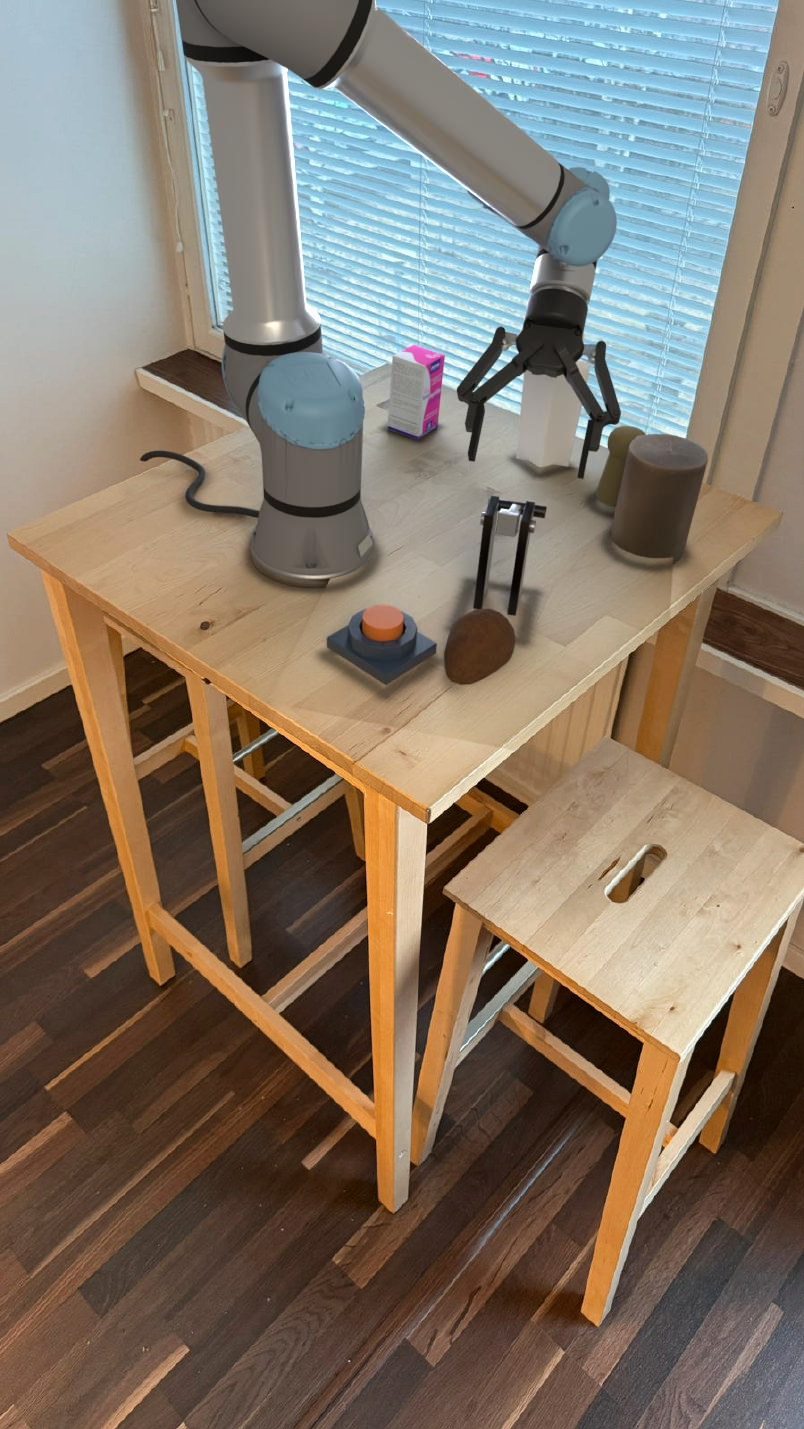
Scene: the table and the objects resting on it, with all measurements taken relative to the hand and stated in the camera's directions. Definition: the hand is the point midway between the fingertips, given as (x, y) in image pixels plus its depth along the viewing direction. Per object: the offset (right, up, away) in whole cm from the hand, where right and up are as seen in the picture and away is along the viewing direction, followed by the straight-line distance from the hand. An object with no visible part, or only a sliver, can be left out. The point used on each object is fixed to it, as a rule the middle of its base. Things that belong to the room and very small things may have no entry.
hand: (525, 466), depth 126 cm
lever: (-3, -9, -7) cm, 12 cm away
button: (-17, -21, -15) cm, 31 cm away
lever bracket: (-4, -18, -5) cm, 19 cm away
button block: (-17, -24, -13) cm, 32 cm away
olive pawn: (+14, -2, +16) cm, 21 cm away
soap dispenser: (+5, +6, +24) cm, 25 cm away
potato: (-7, -25, -13) cm, 29 cm away
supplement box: (-13, +13, +30) cm, 35 cm away
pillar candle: (+17, -9, +8) cm, 20 cm away
